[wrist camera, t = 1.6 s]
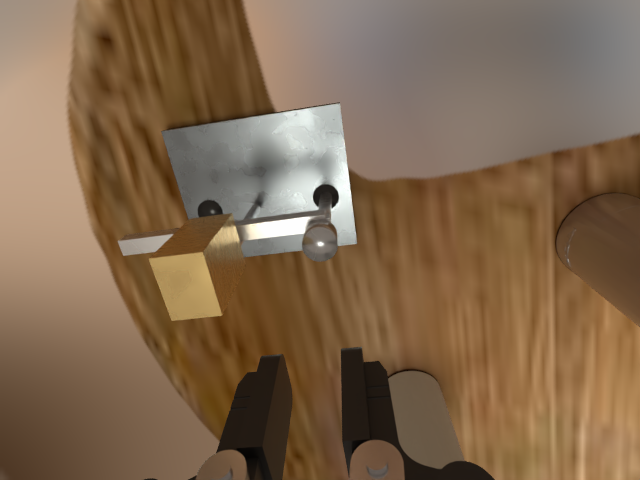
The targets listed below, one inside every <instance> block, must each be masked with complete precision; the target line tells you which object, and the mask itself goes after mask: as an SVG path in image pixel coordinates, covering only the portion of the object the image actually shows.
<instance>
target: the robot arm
mask: <svg viewBox="0 0 640 480" xmlns="http://www.w3.org/2000/svg"><path fill="white" fill-rule="evenodd" d="M556 249H557V253H558V256H559V258H560V259H561V261H562V263H564V264H565V265H566V266H567V267H568V268H569V269H570V270H572V271H573V272H574V273H575V274H576V275H578V276H579V277H580V278H581V279H582V280H584V281H585V282H586V283H587V284H588V285H589V286H591V287H592V288H593V289H594V290H595V291H597V292H598V293H599V294H600V295H601V296H603V297H604V298H605V299H606V300H607V301H609V302H610V303H611V304H612V305H614V306H615V307H616V308H617V309H618V310H620V311H621V312H622V313H623V314H624V315H626V316H627V317H628V318H629V319H630V320H632V321H633V322H634V323H635V324H636V325H638V326H639V327H640V199H638V198H636V197H634V196H630V195H627V194H622V193H610V194H603V195H600V196H597V197H594V198H592V199H590V200H588V201H586V202H584V203H582V204H581V205H580V206H578V207H577V208H575V209H574V210H573V211H572V212H571V213H570V214H569V215H568V216H567V218H566V219H565V221H564V222H563V223H562V225H561V227H560V230H559V232H558V235H557V240H556ZM341 382H342V441H343V447H344V452H345V458H346V463H347V469H348V474H349V480H494V478H493V477H492V476H491V475H490V474H489V473H487V472H486V471H485V470H484V469H483V468H481V467H480V466H478V465H476V464H473V463H471V462H466V461H454V462H451V463H449V464H447V465H445V466H444V467H443V468H442V469H437V468H433V467H429V466H425V465H422V464H420V463H418V462H416V461H414V460H413V459H411V458H410V457H409V456H408V455H407V454H406V453H405V452H404V451H403V449H402V447H401V445H400V443H399V439H398V434H397V428H396V422H395V416H394V410H393V405H392V399H391V393H390V387H389V381H388V375H387V371H386V370H385V369H384V367H383V366H382V365H381V363H380V362H379V361H375V362H364V360H363V352H362V347H356V348H345V349H341ZM291 409H292V388H291V383H290V379H289V375H288V371H287V367H286V363H285V359H284V356H283V354H279V355H268V356H262V357H261V358H260V362H259V365H258V369H257V372H249V373H247V374H246V375H245V376H244V378H243V379H242V380H241V381H240V383H239V384H238V386H237V389H236V393H235V396H234V400H233V402H232V405H231V411H229V415H228V418H227V421H226V424H225V427H224V430H223V433H222V437H221V440H220V443H219V446H218V449H217V452H216V454H214V455H212V456H211V457H210V458H208V459H207V460H206V461H205V462H204V464H203V465H202V466H201V468H200V469H199V471H198V473H197V475H196V476H195V477H193V478H191V479H189V480H282V476H283V469H284V461H285V454H286V446H287V439H288V432H289V424H290V417H291ZM145 480H157V479H145Z"/></svg>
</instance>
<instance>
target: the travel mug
mask: <svg viewBox="0 0 640 480" xmlns="http://www.w3.org/2000/svg"><path fill="white" fill-rule="evenodd" d="M388 381H389V387H390V393H391V399H392V405H393V410H394V416H395V422H396V428H397V434H398V439H399V443H400V445H401V447H402V449H403V451H404V452H405V453H406V454H407V455H408V456H409V457H410V458H411V459H413V460H414V461H416V462H418V463H420V464H422V465H425V466H429V467H433V468H437V469H442V468H443V467H444V466H445V465H447V464H449V463H451V462H454V461H465V460H464V457H463V454H462V451H461V448H460V445H459V442H458V439H457V436H456V433H455V430H454V427H453V424H452V421H451V418H450V415H449V412H448V409H447V406H446V403H445V400H444V397H443V394H442V391H441V388H440V386H439V384H438V382H437V381H436V380H435V379H434V378H433V377H432V376H430V375H428V374H426V373H423V372H419V371H405V372H400V373H397V374H395V375H393V376H391V377H390V378H388Z"/></svg>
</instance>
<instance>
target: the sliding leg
mask: <svg viewBox="0 0 640 480" xmlns="http://www.w3.org/2000/svg"><path fill="white" fill-rule="evenodd" d="M260 211H261V208H260V206H259V205H256V204H255V205H252V206H251V208H250V209H249V211H248V213H247V214H246V216H245V217H244V219H252V218H257V217H258V215H259V213H260ZM244 219H243V220H244ZM243 242H244V241H239V237H238V233H237V229H236V225H235V221H234V217H233V214H232V213H230V214H222V215H214V216H207V217H199V218H192V219H189V220H188V221H187V222H186V223H185V224H184V225H183V226H182V227H181V228H180V229H179V230H178V231H177V232H175V233H174V234H173V235H172V236H171V237H170V238H169V239H168V240H167V241H166V242H165V243H164V244H163V245H162V246H161V247H160V248H159V249H158V250H157V251H156V252H155V253H154V254H153V255H152V256H151V257H150V258H149V261H150V264H151V267H152V269H153V272H154V275H155V277H156V280H157V283H158V285H159V288H160V291H161V293H162V296H163V299H164V301H165V304H166V307H167V309H168V312H169V315H170V317H171V320H172V321H174V320H184V319H193V318H203V317H212V316H222V315H223V313H224V311H225V309H226V307H227V305H228V302H229V300H230V298H231V296H232V294H233V292H234V290H235V288H236V286H237V284H238V281H239V279H240V277H241V275H242V273H243V271H244V269H245V267H246V264H245V260H244V256H243V252H242V248H241V245H242V243H243Z"/></svg>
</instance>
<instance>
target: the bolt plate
mask: <svg viewBox="0 0 640 480" xmlns="http://www.w3.org/2000/svg"><path fill="white" fill-rule="evenodd" d="M161 132H162V135H163V138H164V142H165V145H166V148H167V151H168V155H169V158H170V161H171V164H172V167H173V171H174V174H175V177H176V180H177V183H178V187H179V190H180V193H181V196H182V200H183V203H184V206H185V209H186V212H187V216H188V219H192V218H199V217H207V216H214V215H222V214H230V213H232V214H233V217H234V221H235V225H236V229H237V233H238V237H239V241H244V242H243V243H242V245H241V248H242V252H243V256H244V257H250V256H258V255H267V254H275V253H283V252H292V251H300V250H303V251H304V253H305V255H306V256H307V257H308V258H310V259H312V260H314V261H326V260H328V259H330V258H332V257H333V256H334V255H335V253H336V251H337V247H338V246H342V245H350V244H357V240H356V232H355V223H354V215H353V207H352V199H351V190H350V182H349V174H348V166H347V158H346V150H345V141H344V133H343V125H342V117H341V108H340V103H333V104H326V105H320V106H313V107H307V108H301V109H294V110H289V111H281V112H275V113H269V114H262V115H256V116H250V117H243V118H237V119H231V120H224V121H218V122H211V123H205V124H199V125H192V126H186V127H180V128H173V129H167V130H164V131H161ZM255 204H256V205H259V206H260V208H261V211H260V213H259V215H258V217H257V218H252V219H244V217H245V216H246V214H247V213H248V211H249V209H250V208H251V206H252V205H255ZM243 219H244V220H243ZM179 229H180V228H175V229H167V230H160V231H152V232H144V233H137V234H129V235H125V236H124V237H123V238H121V239H120V240H119V241H118V243H119V246H120V248H121V251H122V253H123V256H124V255H132V254H140V253H149V252H156V251H157V250H158V249H159V248H160V247H161V246H162V245H163V244H164V243H165V242H166V241H167V240H168V239H169V238H170V237H171V236H172V235H173V234H174V233H175V232H177V231H178V230H179Z"/></svg>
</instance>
